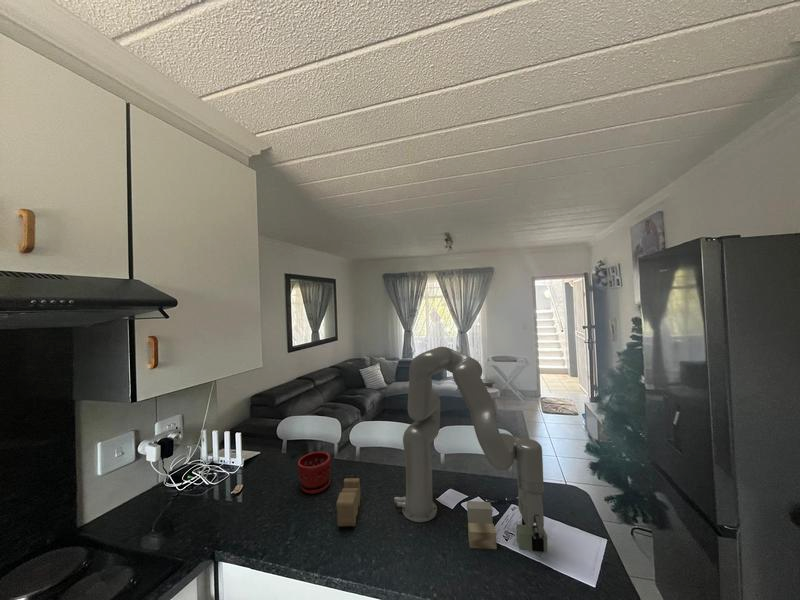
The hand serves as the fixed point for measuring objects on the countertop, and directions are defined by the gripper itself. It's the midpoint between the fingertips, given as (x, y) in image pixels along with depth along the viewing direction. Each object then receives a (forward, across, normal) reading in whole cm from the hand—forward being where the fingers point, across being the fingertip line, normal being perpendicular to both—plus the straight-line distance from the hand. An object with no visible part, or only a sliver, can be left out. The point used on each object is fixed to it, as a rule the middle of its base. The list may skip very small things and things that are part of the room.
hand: (532, 538), depth 95 cm
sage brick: (+3, 0, 0) cm, 3 cm away
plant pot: (+2, -26, -79) cm, 84 cm away
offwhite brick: (+2, -11, -14) cm, 18 cm away
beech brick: (+2, 0, -15) cm, 15 cm away
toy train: (+2, -10, -60) cm, 61 cm away
